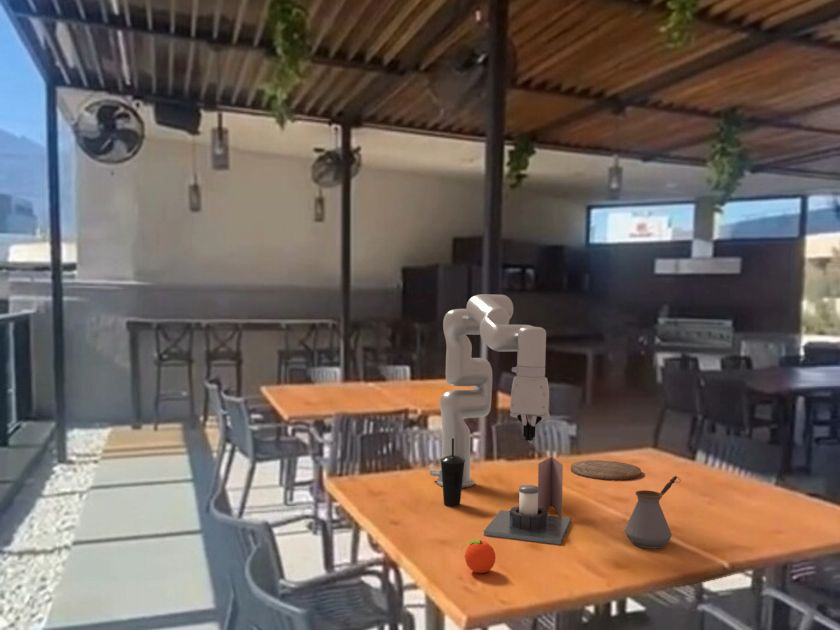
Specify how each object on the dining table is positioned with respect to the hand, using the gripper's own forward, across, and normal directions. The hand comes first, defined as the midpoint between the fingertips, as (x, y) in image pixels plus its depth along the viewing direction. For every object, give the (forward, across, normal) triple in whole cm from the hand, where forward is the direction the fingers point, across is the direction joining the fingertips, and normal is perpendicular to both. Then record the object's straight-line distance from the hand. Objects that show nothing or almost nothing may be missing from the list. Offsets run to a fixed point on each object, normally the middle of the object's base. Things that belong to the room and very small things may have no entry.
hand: (529, 439), depth 190 cm
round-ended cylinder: (+23, 0, -1) cm, 23 cm away
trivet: (+26, +15, +75) cm, 80 cm away
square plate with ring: (+24, +1, -1) cm, 24 cm away
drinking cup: (+25, -25, +13) cm, 38 cm away
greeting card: (+25, +5, +17) cm, 30 cm away
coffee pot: (+24, +34, +3) cm, 41 cm away
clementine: (+24, -4, -36) cm, 43 cm away
